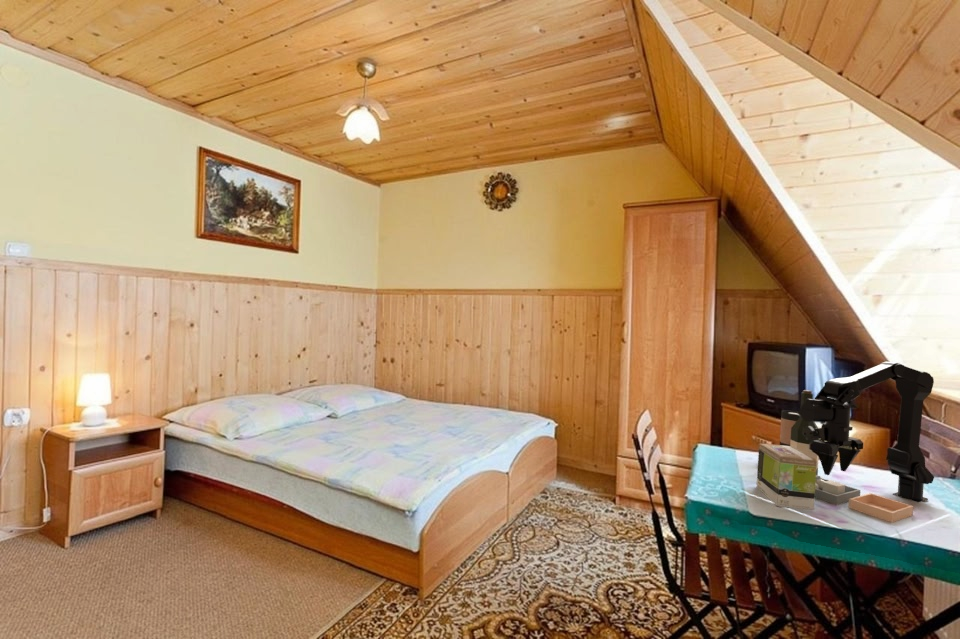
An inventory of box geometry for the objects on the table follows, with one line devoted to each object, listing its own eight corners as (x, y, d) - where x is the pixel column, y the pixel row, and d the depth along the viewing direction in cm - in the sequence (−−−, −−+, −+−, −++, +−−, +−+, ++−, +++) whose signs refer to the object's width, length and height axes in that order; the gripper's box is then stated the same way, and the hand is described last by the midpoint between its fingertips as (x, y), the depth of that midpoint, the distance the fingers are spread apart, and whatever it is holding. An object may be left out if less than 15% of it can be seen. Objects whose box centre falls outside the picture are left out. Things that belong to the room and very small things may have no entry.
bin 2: (869, 502, 138) (870, 493, 138) (912, 516, 129) (913, 506, 129) (848, 509, 133) (849, 498, 133) (891, 524, 124) (892, 513, 124)
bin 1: (785, 475, 160) (786, 465, 160) (859, 499, 140) (860, 488, 140) (762, 480, 154) (763, 470, 154) (836, 506, 134) (837, 494, 134)
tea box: (815, 511, 130) (818, 459, 130) (776, 507, 132) (779, 456, 132) (790, 491, 145) (792, 444, 145) (755, 488, 147) (757, 441, 147)
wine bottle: (785, 471, 164) (790, 387, 164) (813, 475, 161) (818, 390, 161) (791, 479, 157) (796, 391, 156) (821, 483, 154) (826, 393, 153)
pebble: (809, 489, 146) (809, 479, 146) (820, 493, 143) (821, 482, 143) (803, 490, 145) (804, 480, 145) (814, 494, 142) (815, 484, 142)
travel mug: (779, 461, 176) (782, 409, 176) (804, 466, 172) (807, 412, 171) (777, 466, 170) (779, 412, 170) (802, 471, 166) (805, 415, 165)
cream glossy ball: (818, 487, 148) (818, 477, 148) (829, 490, 146) (829, 480, 146) (812, 488, 147) (813, 478, 147) (823, 492, 144) (824, 482, 144)
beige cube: (829, 493, 144) (830, 480, 144) (844, 497, 140) (845, 484, 140) (822, 494, 142) (823, 481, 142) (837, 499, 138) (838, 486, 138)
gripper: (824, 414, 152) (822, 461, 152) (791, 418, 144) (789, 468, 144) (865, 422, 142) (862, 472, 142) (832, 426, 134) (829, 480, 134)
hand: (835, 472), depth 141 cm, fingers open, 9 cm apart
